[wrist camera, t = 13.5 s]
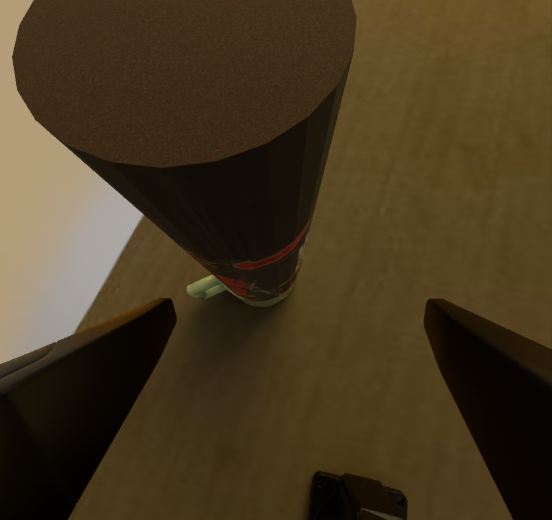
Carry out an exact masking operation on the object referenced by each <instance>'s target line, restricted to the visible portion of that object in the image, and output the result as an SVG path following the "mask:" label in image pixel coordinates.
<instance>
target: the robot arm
mask: <svg viewBox="0 0 552 520" xmlns="http://www.w3.org/2000/svg"><path fill="white" fill-rule="evenodd" d="M176 321H177V316H176V312H175V309H174V305H173V302H172V300H171V299H170V298H159V299H157V300H154V301H152V302H149V303H147V304H145V305H142V306H140V307H138V308H135V309H133V310H130V311H128V312H126V313H123V314H121V315H119V316H116V317H114V318H111V319H109V320H107V321H104V322H102V323H99V324H97V325H95V326H92V327H90V328H88V329H85V330H83V331H80V332H78V333H76V334H73V335H71V336H69V337H66V338H64V339H61V340H59V341H57V342H54V343H52V344H49V345H47V346H45V347H42V348H40V349H37V350H35V351H33V352H30V353H28V354H25V355H23V356H20V357H18V358H15V359H12V360H10V361H8V362H5V363H2V364H0V520H68V518H69V517H70V515H71V513H72V512H73V510H74V508H75V506H76V503H77V502H78V501H79V499H80V497H81V495H82V494H83V492H84V490H85V488H86V487H87V485H88V483H89V481H90V480H91V478H92V476H93V475H94V473H95V471H96V469H97V468H98V466H99V464H100V462H101V461H102V459H103V457H104V455H105V454H106V452H107V450H108V448H109V447H110V445H111V443H112V441H113V440H114V438H115V436H116V434H117V433H118V431H119V429H120V427H121V426H122V424H123V422H124V420H125V419H126V417H127V415H128V413H129V412H130V410H131V408H132V407H133V405H134V403H135V401H136V400H137V398H138V396H139V394H140V393H141V391H142V389H143V387H144V386H145V384H146V382H147V380H148V379H149V377H150V375H151V373H152V372H153V370H154V368H155V366H156V365H157V363H158V361H159V359H160V357H161V355H162V353H163V351H164V349H165V347H166V344H167V342H168V340H169V338H170V335H171V333H172V331H173V329H174V326H175V324H176ZM424 328H425V331H426V333H427V336H428V339H429V342H430V345H431V348H432V350H433V353H434V356H435V359H436V362H437V364H438V367H439V369H440V372H441V374H442V376H443V378H444V380H445V382H446V384H447V386H448V388H449V390H450V392H451V394H452V396H453V398H454V400H455V402H456V404H457V406H458V409H459V411H460V413H461V415H462V417H463V419H464V421H465V423H466V425H467V427H468V429H469V431H470V433H471V435H472V437H473V439H474V441H475V443H476V445H477V447H478V449H479V451H480V453H481V455H482V457H483V459H484V461H485V463H486V465H487V467H488V469H489V471H490V473H491V476H492V478H493V480H494V482H495V484H496V486H497V488H498V490H499V492H500V494H501V496H502V498H503V500H504V502H505V504H506V506H507V508H508V510H509V512H510V514H511V516H512V518H513V520H552V349H549V348H547V347H545V346H543V345H541V344H539V343H536V342H534V341H532V340H530V339H528V338H526V337H524V336H521V335H519V334H517V333H515V332H513V331H511V330H508V329H506V328H504V327H502V326H500V325H498V324H496V323H493V322H491V321H489V320H487V319H485V318H483V317H480V316H478V315H476V314H474V313H472V312H470V311H468V310H465V309H463V308H461V307H459V306H457V305H455V304H452V303H450V302H448V301H446V300H444V299H429V300H428V301H427V303H426V309H425V315H424ZM319 478H322V479H323V482H322V483H321V484H319V483H317V480H318V479H319ZM398 497H401V502H399V503H397V502H396V500H397V498H398ZM407 504H408V503H407V499H406V497H405V495H404V494H403V493H402V492H401V491H400V490H397V489H393V488H388V487H384V486H382V484H381V483H380V482H379V481H376V480H372V479H368V478H364V477H360V476H355V475H351V474H347V473H345V474H344V475H342V476H338V475H334V474H330V473H326V472H322V471H318V472H316V473H315V474H314V476H313V480H312V488H311V496H310V503H309V511H308V519H307V520H407Z"/></svg>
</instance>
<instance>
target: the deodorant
mask: <svg viewBox="0 0 552 520" xmlns="http://www.w3.org/2000/svg"><path fill="white" fill-rule="evenodd" d="M355 29H356V14H355V11H354V8H353V4H352V1H351V0H34V1H33V3H32V4H31V6H30V8H29V9H28V11H27V13H26V15H25V16H24V18H23V20H22V22H21V23H20V25H19V29H18V34H17V38H16V42H15V47H14V51H13V56H12V59H13V65H14V72H15V79H16V85H17V90H18V92H19V94H20V95H21V97H22V99H23V100H24V102H25V104H26V105H27V107H28V109H29V110H30V112H31V113H32V115H33V117H34V118H35V120H36V121H37V122H39V123H40V124H41V125H42V126H43V127H44V128H45V129H46V130H48V131H49V132H50V133H51V134H52V135H53V136H54V137H56V138H57V139H58V140H59V141H60V142H61V143H62V144H64V145H65V146H66V147H67V148H68V149H69V150H71V151H72V152H73V153H74V154H75V155H76V156H77V157H79V158H80V159H81V160H82V161H83V162H84V163H85V164H87V165H88V166H89V167H90V168H91V169H92V170H93V171H95V172H96V173H97V174H98V175H99V176H100V177H102V178H103V179H104V180H105V181H106V182H107V183H108V184H109V185H111V186H112V187H113V188H114V189H115V190H116V191H118V192H119V193H120V194H121V195H122V196H123V197H124V198H126V199H127V200H128V201H129V202H130V203H131V204H133V205H134V206H135V207H136V208H137V209H138V210H139V211H140V212H142V213H143V214H144V215H145V216H146V217H147V218H148V219H150V220H151V221H152V222H153V223H154V224H155V225H156V226H158V227H159V228H160V229H161V230H162V231H163V232H165V233H166V234H167V235H168V236H169V237H170V238H171V239H173V240H174V241H175V242H176V243H177V244H178V245H179V246H181V247H182V248H183V249H184V250H185V251H186V252H187V253H189V254H190V255H191V256H192V257H193V258H194V259H195V260H197V261H198V262H199V263H200V264H201V265H202V266H203V267H205V268H206V269H207V270H208V271H209V272H210V273H212V274H213V275H214V276H215V277H216V278H217V279H218V280H220V281H221V282H222V283H223V284H224V285H225V286H226V287H228V288H229V289H230V290H231V291H232V292H234V293H235V294H236V295H237V296H240V297H242V298H244V299H247V300H252V301H265V300H271V299H273V298H275V297H278V296H280V295H281V294H283V293H284V292H285V291H287V290H288V289H289V288H290V287H291V285H292V284H293V283H294V281H295V280H296V277H297V275H298V273H299V270H300V266H301V262H302V258H303V254H304V250H305V245H306V241H307V237H308V233H309V229H310V225H311V221H312V217H313V213H314V209H315V205H316V201H317V197H318V193H319V189H320V185H321V181H322V177H323V173H324V169H325V165H326V161H327V157H328V153H329V148H330V144H331V140H332V136H333V132H334V128H335V124H336V120H337V116H338V112H339V108H340V104H341V100H342V96H343V92H344V88H345V84H346V80H347V76H348V72H349V68H350V64H351V60H352V56H353V52H354V41H355Z"/></svg>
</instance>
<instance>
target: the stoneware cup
mask: <svg viewBox="0 0 552 520" xmlns="http://www.w3.org/2000/svg"><path fill="white" fill-rule="evenodd" d="M296 278H297V277H296ZM295 282H296V280H295V281H294V283H293V284H292V285H291V287H290V288H289V289H288V290H287V291H285V292H284V293H283V294H281V295H280V296H278V297H275V298H273V299H271V300H265V301H252V300H247V299H244V298H242V297H240V296H237V295H236V294H235V293H234V292H232V291H231V290H230V289H229V288H228V287H226V286H225V285H224V284H223V283H222V282H221V281H220V280H218V279H217V278H216V277H215V276H214V275H213V274H212V275H210V276H208V277H205V278H203V279H201V280H198V281H196V282H194V283H191V284H189V285H188V286H187V288H186V291H187V293H188V294H189V295H191V296H193V297H195V298H198V299H200V300H205V299H207V298H209V297H212V296H214V295H216V294H218V293H221V292H223V291H225V290H228V291H229V292H230V293H232V294H233V295H234V296H235V297H236V298H238V299H239V300H241V301H242V302H244V303H246V304H248V305H251V306H255V307H268V306H272V305H274V304H277V303H279V302H280V301H282V300H283V299H284V298H286V297H287V296H288V294H289V293H290V292H291V290H292V289H293V287H294V284H295Z"/></svg>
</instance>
